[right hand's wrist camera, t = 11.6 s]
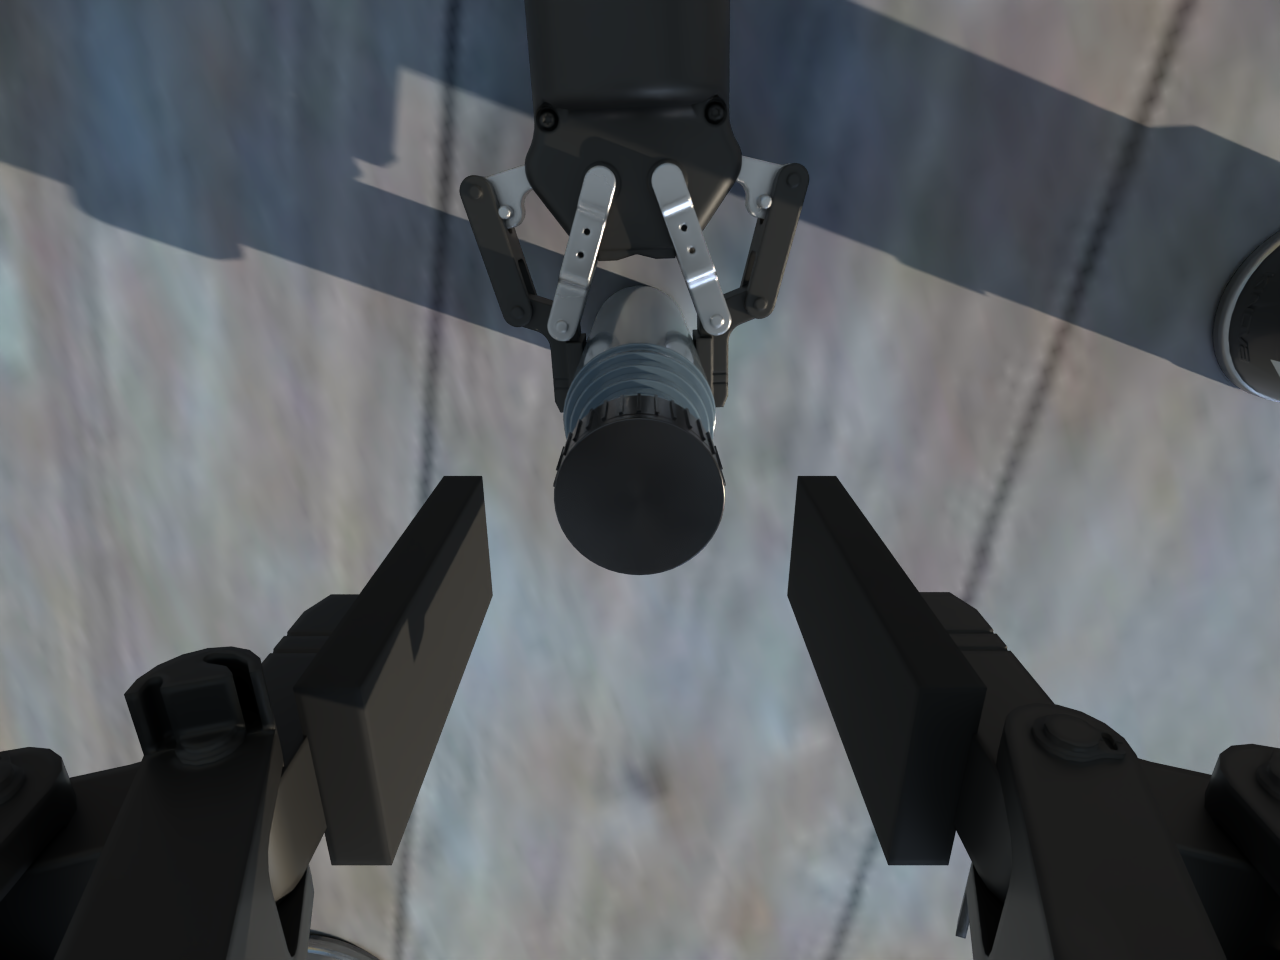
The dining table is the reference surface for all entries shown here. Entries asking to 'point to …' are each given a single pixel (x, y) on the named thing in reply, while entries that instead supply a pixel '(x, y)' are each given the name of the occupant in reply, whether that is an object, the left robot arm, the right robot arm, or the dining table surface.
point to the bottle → (639, 358)
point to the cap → (639, 485)
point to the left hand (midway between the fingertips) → (642, 416)
